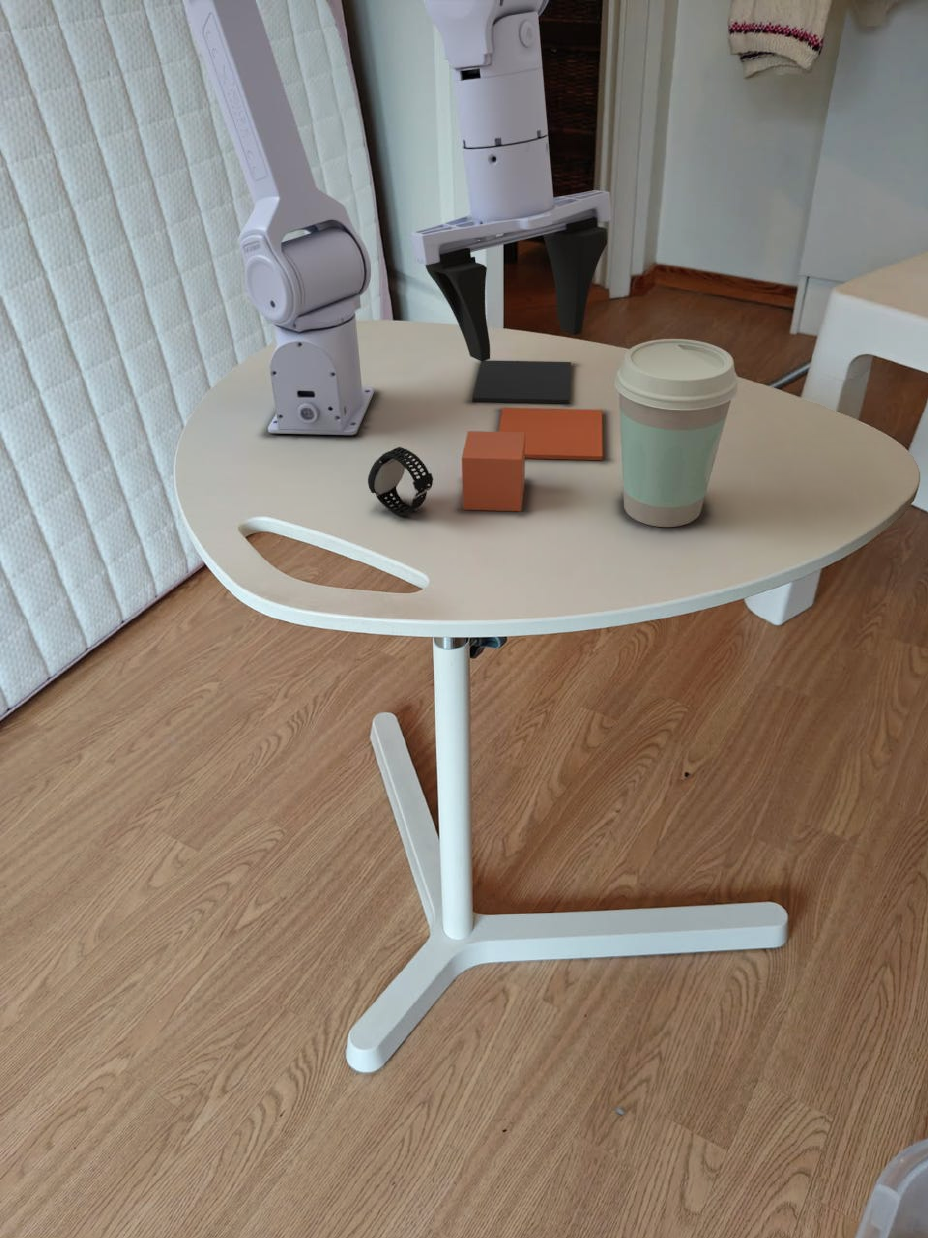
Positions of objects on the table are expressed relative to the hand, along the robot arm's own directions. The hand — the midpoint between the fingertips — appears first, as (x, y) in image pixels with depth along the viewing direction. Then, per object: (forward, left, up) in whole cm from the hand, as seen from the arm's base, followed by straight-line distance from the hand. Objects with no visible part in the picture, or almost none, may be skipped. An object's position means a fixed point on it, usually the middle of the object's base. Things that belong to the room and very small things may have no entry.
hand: (526, 344), depth 72 cm
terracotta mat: (+9, -2, -12) cm, 15 cm away
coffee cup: (-3, -11, -12) cm, 16 cm away
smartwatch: (-5, +9, -12) cm, 16 cm away
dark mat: (+20, +1, -12) cm, 23 cm away
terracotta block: (-2, +2, -12) cm, 12 cm away
